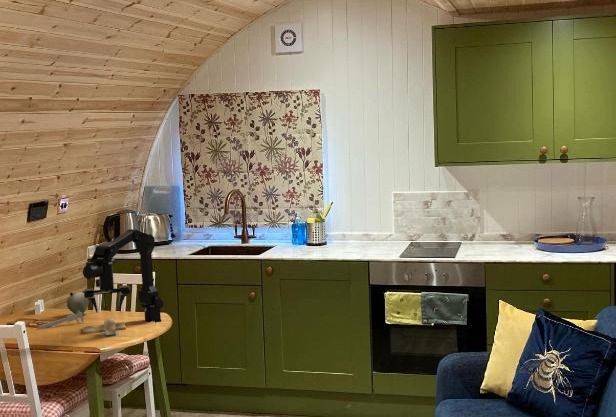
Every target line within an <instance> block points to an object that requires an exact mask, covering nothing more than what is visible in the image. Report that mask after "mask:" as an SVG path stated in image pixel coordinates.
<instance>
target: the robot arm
mask: <svg viewBox="0 0 616 417" xmlns="http://www.w3.org/2000/svg"><path fill="white" fill-rule="evenodd" d="M131 242H132V243H134V244H135V249H136V251H137V253H138V254H139V258H140V270H141V283H142V286H141V287H140V288H141V289H140V290H138V291H137V293H138V297H137V298H138V300H139V304H140V306H141V308H143V309H145V310H144V311H143V314H144V321H145V322H146V323H150V322H154V323H156V322H162V318H161V316H162V315H161V309H162V308H164V303H165V302H164V301H163V300H162V298H160V296H159V290H158V289H157V288H156V286H155V284H154V272H153V270H154V269H153V257H152V256H153V255H152V254H153V251H154V249H155V247H156V246H155V242H156V240H155V236H154V235H152V234H148V233H145V232H142V231H140V230H138V229H132V228H131V229H127V230H126V231H125V232H123V233H122V234H121V235H119V236H117V237H116V238H114V239H112V240H110V241H109V242H105V243H102V244H99V245H97V246H95V250H94V252H93V255H92V256H91V259H90V262H86V263H85V266H84V267H83V269H82V275H83V277H84V278H85V279H86V280H91V279H95V278H97V279H95V288H99V289H95V290H94V288H85V289H84V290H83V291H84V298H88V300H89V301H90V302H91V303H92V304H93V307H94V310H95V312H96V313H97V314H98V305H97V300H96V296H97V295H106V294H107V295H108V294H117V293H119V301H118V310H119V312H120V311H121V309H122V307H123V302H124V299H125V297H127V296H128V295H130V294H131V287H130V285H127V284H126V285H119V287H118V288H117V287H116V288H115V285H114V282H115V281H114V268H113V264H116V263H117V260H115V259H114V257H115V256H116V255H117V254H118V251H119V250H120V249H122V248H123V247H125V246H126V245H129V243H131Z"/></svg>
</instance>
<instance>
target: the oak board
mask: <svg viewBox="0 0 616 417" xmlns="http://www.w3.org/2000/svg"><path fill="white" fill-rule="evenodd" d="M81 328H82V335H87V334H96V333H97V334H98V333H105V326H104V323H103V324H97V325H86V326H85V325H84V326H81ZM115 330H116V331H125V330H127V326H126V324H125V322H115Z"/></svg>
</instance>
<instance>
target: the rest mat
mask: <svg viewBox="0 0 616 417" xmlns="http://www.w3.org/2000/svg"><path fill="white" fill-rule="evenodd" d="M100 333H101V334H100V335H101V338H102V339H104V338H108V337H106V335H105V332H100ZM119 333H120V332H119V330H117V331H116V336H110V337H109V338H114V337H120V334H119Z"/></svg>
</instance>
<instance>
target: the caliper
mask: <svg viewBox="0 0 616 417" xmlns="http://www.w3.org/2000/svg"><path fill="white" fill-rule="evenodd" d="M79 318H80V320H79ZM74 320H75V321H76V322H77V324H78V325H79V324H80V321H81V322H82V324H84V320H85V319H84V316H83V315H82V312H80V310H79V313H78V312H77V314H74V313H73V314H70V315H67V316H65V317H64V318H61V319H58V320H54V321H52V322H49V323H45V324H41V325H39V326H38V327H36V330H43V329H48V328H49V327H53V326H56V325H59V324H62V323H66V322H67V323H71V322H73V321H74Z"/></svg>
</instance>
